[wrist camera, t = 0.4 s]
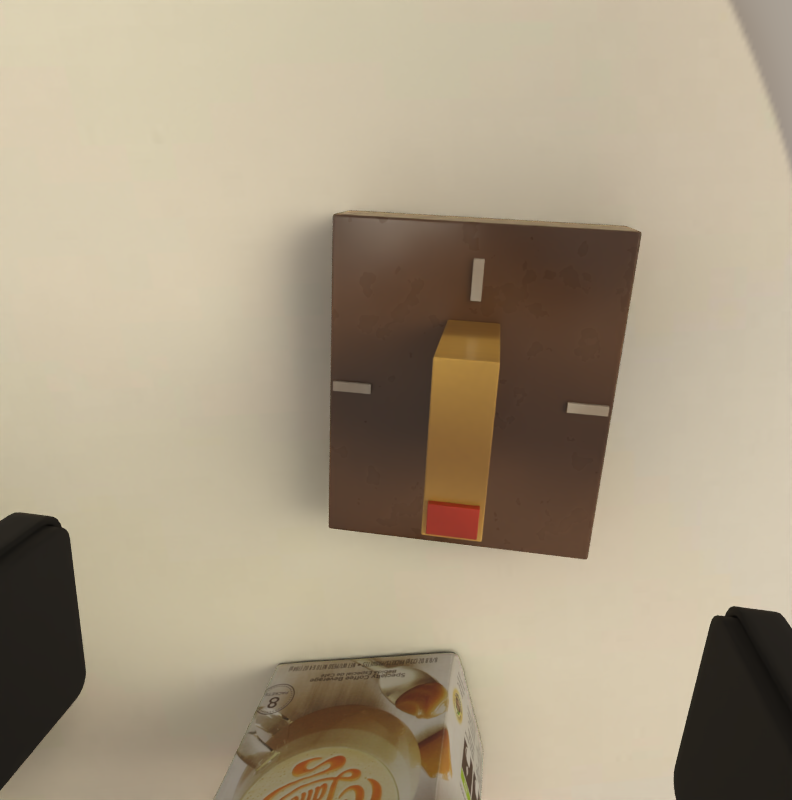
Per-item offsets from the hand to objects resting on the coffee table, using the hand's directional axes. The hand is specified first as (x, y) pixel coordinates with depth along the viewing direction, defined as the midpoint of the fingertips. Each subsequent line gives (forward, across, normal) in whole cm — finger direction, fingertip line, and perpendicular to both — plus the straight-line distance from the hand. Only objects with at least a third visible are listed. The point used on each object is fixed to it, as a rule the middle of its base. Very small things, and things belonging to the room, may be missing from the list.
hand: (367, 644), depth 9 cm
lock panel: (+17, -1, +1) cm, 17 cm away
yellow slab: (+14, -1, +1) cm, 14 cm away
